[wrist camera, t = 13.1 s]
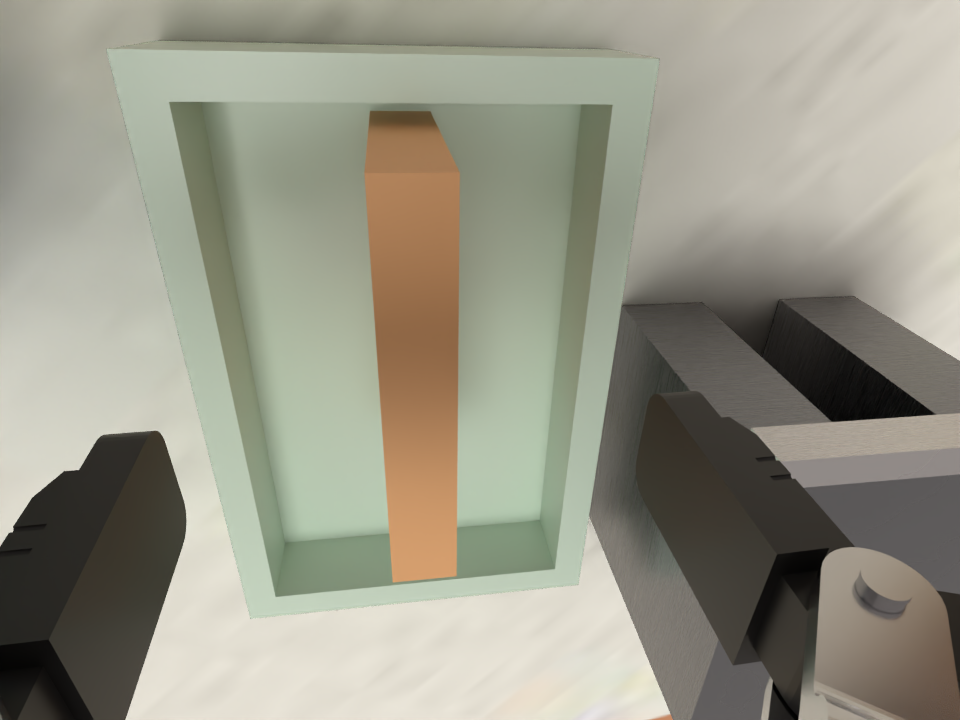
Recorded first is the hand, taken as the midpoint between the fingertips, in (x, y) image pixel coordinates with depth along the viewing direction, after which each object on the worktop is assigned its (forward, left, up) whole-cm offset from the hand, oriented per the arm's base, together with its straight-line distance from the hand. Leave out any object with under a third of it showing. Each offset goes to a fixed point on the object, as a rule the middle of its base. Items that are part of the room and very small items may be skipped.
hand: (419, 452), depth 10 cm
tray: (+3, 0, -10) cm, 11 cm away
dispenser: (+7, +12, -10) cm, 18 cm away
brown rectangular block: (+1, 0, -9) cm, 9 cm away
